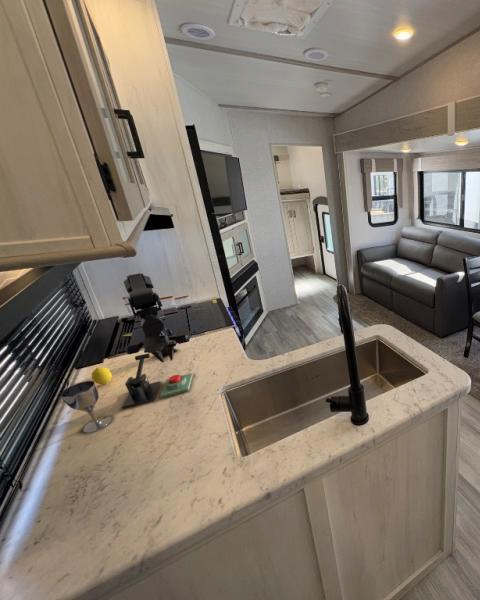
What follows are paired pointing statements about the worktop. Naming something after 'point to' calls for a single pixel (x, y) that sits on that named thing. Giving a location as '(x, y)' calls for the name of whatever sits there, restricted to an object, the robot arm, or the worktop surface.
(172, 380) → the button
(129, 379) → the bracket
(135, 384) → the lever
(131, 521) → the worktop surface
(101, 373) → the lemon
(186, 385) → the control block
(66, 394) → the wine glass
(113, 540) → the worktop surface
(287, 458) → the worktop surface
